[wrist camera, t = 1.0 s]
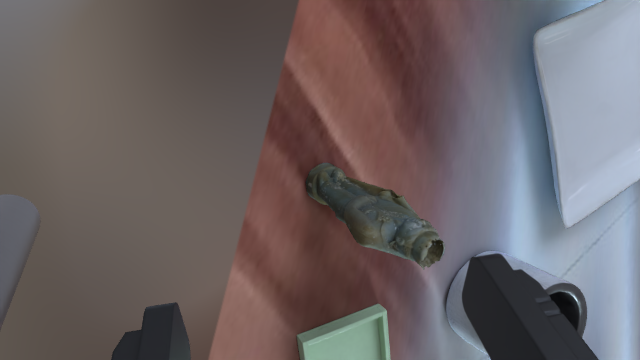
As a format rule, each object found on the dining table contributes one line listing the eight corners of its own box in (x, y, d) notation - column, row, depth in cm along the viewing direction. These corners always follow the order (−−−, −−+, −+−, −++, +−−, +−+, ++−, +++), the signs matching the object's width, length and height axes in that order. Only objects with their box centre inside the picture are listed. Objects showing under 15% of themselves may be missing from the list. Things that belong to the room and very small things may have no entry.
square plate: (660, 144, 72) (688, 147, 69) (542, 224, 64) (567, 233, 60) (650, -33, 62) (682, -39, 59) (509, 34, 54) (537, 31, 51)
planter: (525, 262, 64) (602, 296, 54) (489, 342, 64) (559, 391, 54) (467, 236, 58) (542, 270, 48) (427, 325, 58) (494, 377, 48)
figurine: (351, 205, 49) (471, 268, 33) (295, 214, 46) (396, 287, 31) (351, 159, 48) (475, 202, 32) (294, 166, 45) (399, 215, 30)
